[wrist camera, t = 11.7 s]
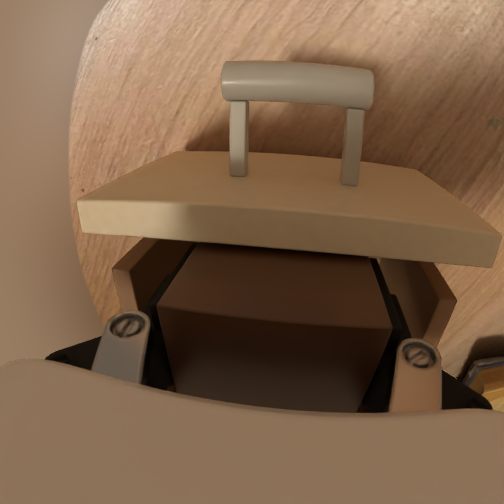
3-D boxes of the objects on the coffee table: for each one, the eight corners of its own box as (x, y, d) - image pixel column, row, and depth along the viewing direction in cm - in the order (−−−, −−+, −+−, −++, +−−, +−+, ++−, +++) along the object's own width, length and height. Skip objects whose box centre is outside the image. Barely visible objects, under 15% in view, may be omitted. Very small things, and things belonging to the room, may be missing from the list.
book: (483, 447, 29) (491, 477, 24) (390, 466, 32) (393, 501, 27) (569, 325, 18) (593, 360, 13) (463, 342, 21) (486, 395, 15)
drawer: (173, 79, 15) (65, 71, 7) (424, 95, 13) (526, 100, 5) (193, 344, 23) (152, 437, 15) (366, 361, 22) (378, 463, 14)
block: (214, 219, 11) (155, 305, 6) (359, 231, 10) (393, 328, 6) (219, 329, 13) (185, 425, 9) (336, 340, 12) (341, 443, 8)
